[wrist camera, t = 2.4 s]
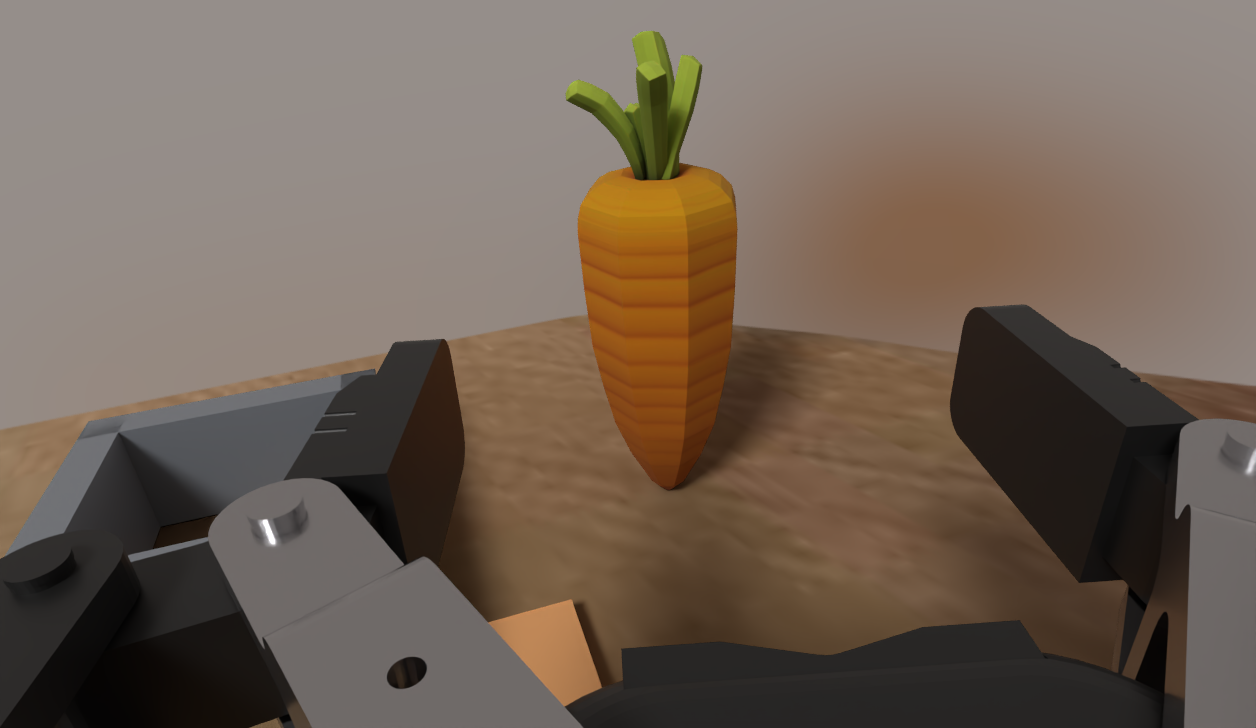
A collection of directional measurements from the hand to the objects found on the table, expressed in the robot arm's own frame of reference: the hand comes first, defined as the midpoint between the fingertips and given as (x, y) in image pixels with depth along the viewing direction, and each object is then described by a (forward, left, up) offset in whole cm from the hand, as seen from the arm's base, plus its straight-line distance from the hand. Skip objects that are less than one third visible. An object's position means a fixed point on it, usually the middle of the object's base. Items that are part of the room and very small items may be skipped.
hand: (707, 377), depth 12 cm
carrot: (-3, -11, -11) cm, 16 cm away
